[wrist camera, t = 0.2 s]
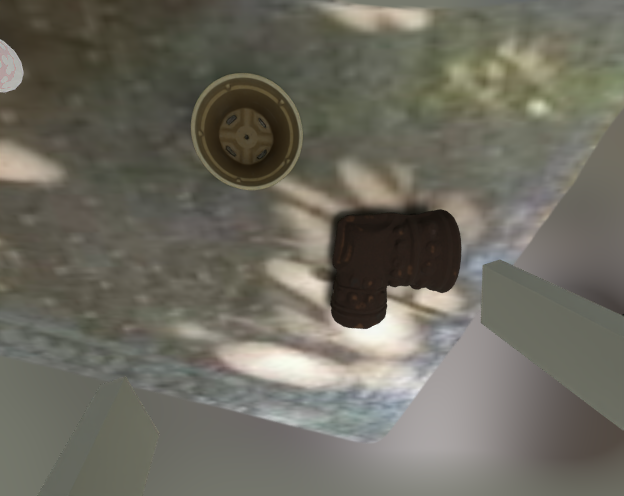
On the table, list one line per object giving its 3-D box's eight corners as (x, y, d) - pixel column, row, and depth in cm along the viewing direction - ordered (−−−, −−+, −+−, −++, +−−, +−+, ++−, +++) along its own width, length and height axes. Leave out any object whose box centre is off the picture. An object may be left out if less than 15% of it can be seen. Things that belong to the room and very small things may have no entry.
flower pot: (221, 71, 30) (215, 47, 23) (301, 117, 34) (320, 109, 26) (190, 156, 32) (174, 161, 25) (268, 191, 36) (277, 206, 28)
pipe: (334, 339, 36) (453, 334, 37) (335, 220, 32) (469, 216, 33) (327, 303, 46) (421, 299, 46) (326, 207, 41) (430, 204, 42)
